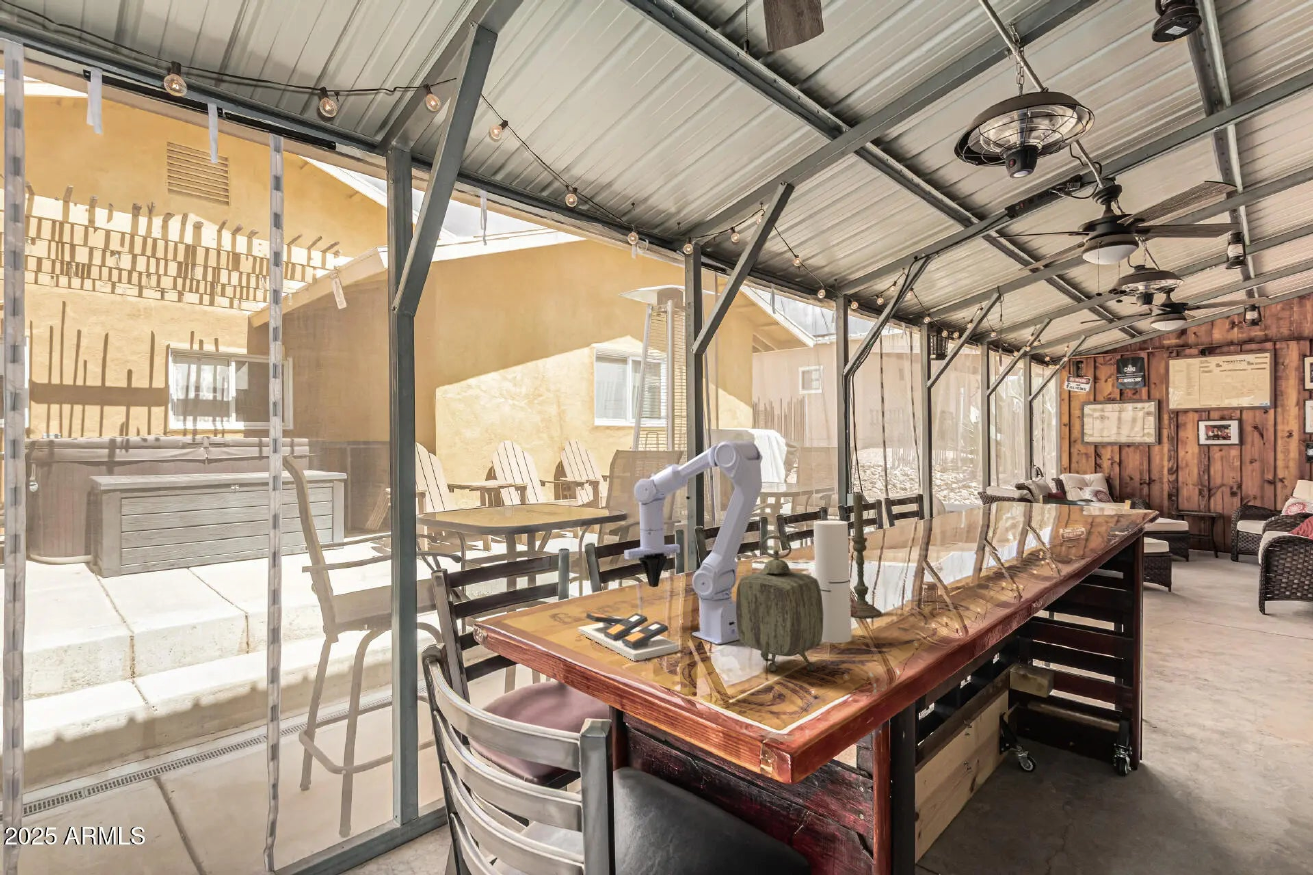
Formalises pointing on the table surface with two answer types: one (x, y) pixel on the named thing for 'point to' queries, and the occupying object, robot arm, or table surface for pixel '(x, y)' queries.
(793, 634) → the tabletop clock
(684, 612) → the table surface
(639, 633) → the rocker near
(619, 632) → the rocker middle
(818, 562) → the cylindrical container
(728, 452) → the robot arm
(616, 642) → the switch strip
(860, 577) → the candlestick holder
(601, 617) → the rocker far
